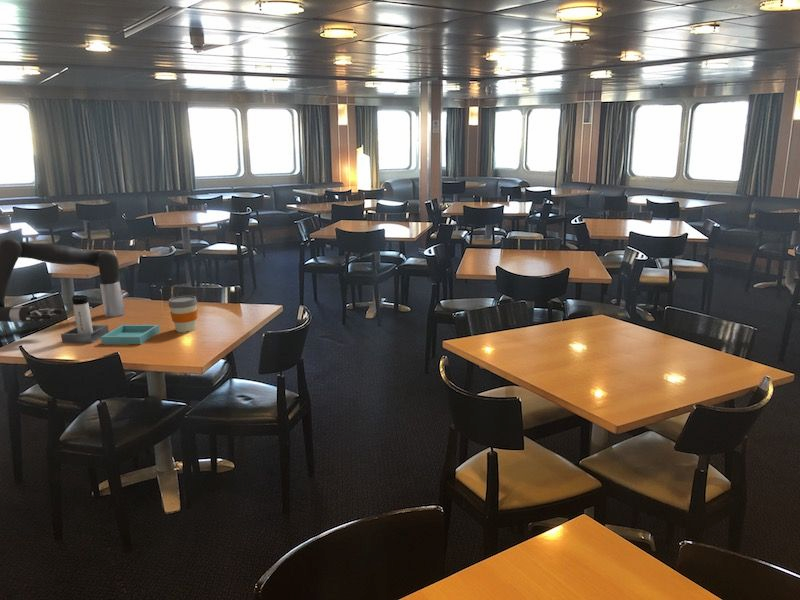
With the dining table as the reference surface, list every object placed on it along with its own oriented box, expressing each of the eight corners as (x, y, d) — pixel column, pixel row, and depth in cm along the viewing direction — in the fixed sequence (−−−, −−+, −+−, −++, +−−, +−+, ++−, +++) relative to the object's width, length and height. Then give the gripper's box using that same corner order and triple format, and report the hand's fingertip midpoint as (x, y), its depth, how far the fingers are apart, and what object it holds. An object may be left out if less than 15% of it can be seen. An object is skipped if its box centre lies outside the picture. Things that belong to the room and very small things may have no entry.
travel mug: (88, 335, 288) (81, 293, 283) (96, 337, 284) (90, 295, 279) (75, 339, 282) (68, 296, 277) (84, 341, 279) (76, 298, 274)
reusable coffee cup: (191, 334, 284) (187, 302, 280) (166, 333, 287) (162, 302, 283) (205, 326, 296) (201, 295, 292) (181, 325, 299) (177, 295, 295)
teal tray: (123, 332, 291) (122, 324, 290) (160, 332, 289) (159, 324, 288) (101, 344, 273) (100, 337, 273) (140, 344, 272) (139, 337, 271)
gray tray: (81, 333, 291) (79, 325, 290) (109, 333, 289) (107, 325, 288) (62, 342, 277) (60, 334, 276) (91, 343, 276) (90, 334, 275)
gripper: (11, 310, 276) (45, 310, 274) (32, 302, 289) (65, 302, 288) (14, 326, 278) (48, 326, 276) (35, 317, 291) (68, 318, 290)
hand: (57, 314), depth 282 cm, fingers open, 8 cm apart
